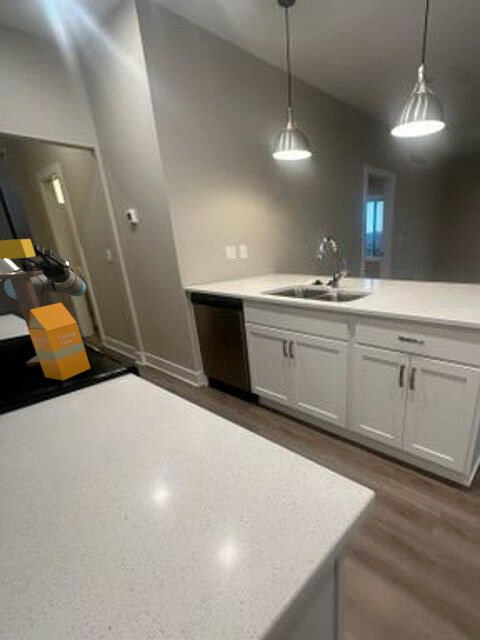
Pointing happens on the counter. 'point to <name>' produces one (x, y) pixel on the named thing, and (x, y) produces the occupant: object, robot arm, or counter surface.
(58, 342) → the orange juice
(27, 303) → the tall stand
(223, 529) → the counter surface
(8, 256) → the yellow rectangular block
